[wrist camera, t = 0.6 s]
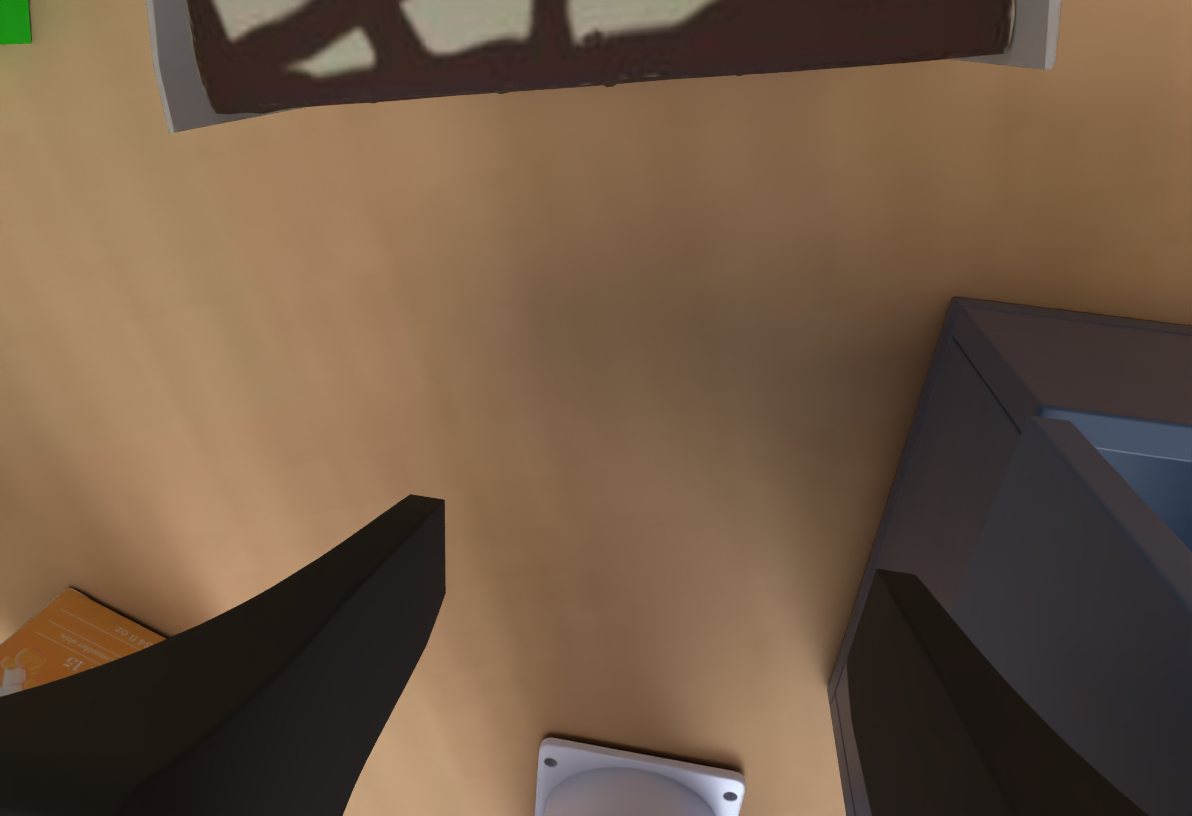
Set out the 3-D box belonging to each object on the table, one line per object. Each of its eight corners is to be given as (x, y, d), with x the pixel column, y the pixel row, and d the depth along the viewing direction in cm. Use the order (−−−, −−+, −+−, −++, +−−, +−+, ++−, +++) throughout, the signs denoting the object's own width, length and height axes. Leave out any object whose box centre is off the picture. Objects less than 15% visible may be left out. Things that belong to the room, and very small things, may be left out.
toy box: (1370, 347, 19) (1637, 485, 13) (1129, 742, 26) (1239, 942, 20) (951, 295, 20) (1040, 404, 14) (826, 690, 27) (853, 867, 21)
